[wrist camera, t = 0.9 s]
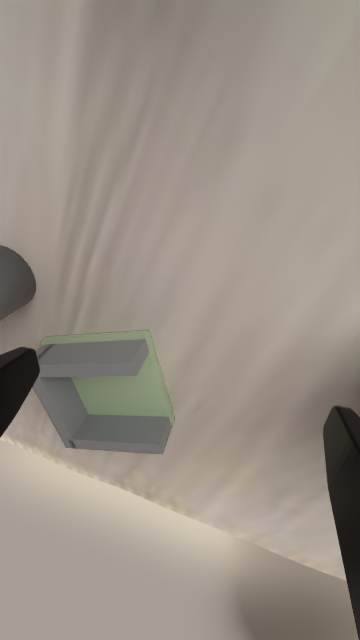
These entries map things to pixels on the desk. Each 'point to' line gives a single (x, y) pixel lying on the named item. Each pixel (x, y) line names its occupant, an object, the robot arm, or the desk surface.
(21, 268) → the gray capsule
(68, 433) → the tray
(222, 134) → the desk surface
